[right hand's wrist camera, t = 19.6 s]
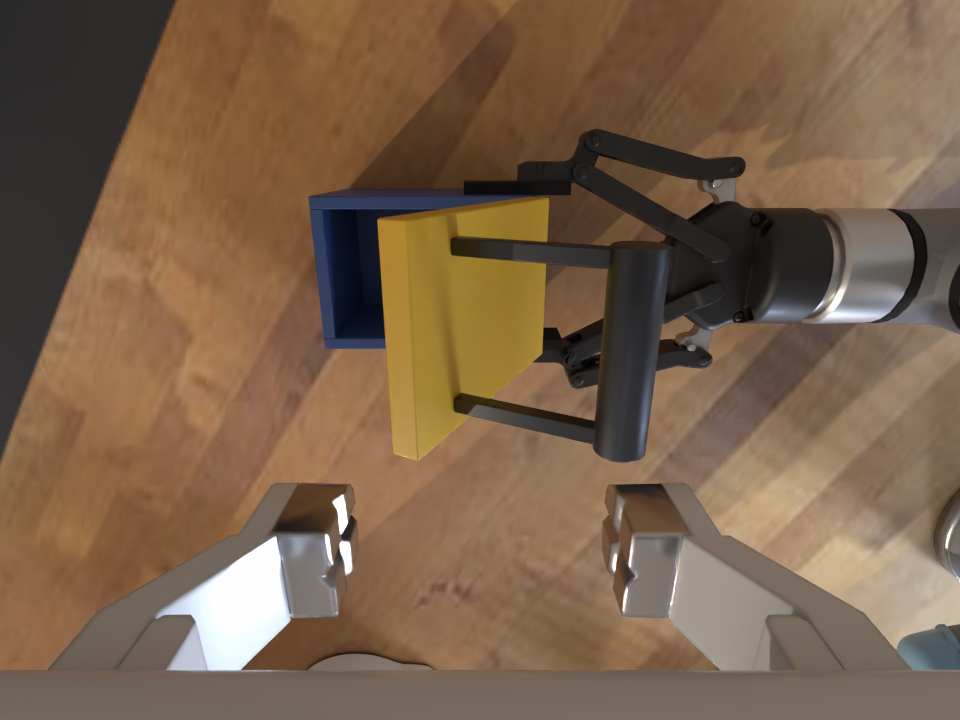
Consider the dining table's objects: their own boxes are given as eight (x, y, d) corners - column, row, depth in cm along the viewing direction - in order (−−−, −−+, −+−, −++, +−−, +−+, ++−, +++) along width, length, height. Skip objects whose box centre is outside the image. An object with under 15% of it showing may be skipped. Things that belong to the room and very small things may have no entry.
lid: (392, 454, 21) (624, 521, 17) (376, 218, 18) (658, 233, 14) (523, 351, 33) (679, 376, 29) (528, 196, 30) (705, 201, 26)
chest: (357, 309, 42) (324, 349, 33) (346, 188, 39) (307, 196, 30) (520, 309, 42) (532, 348, 33) (524, 188, 39) (537, 196, 30)
